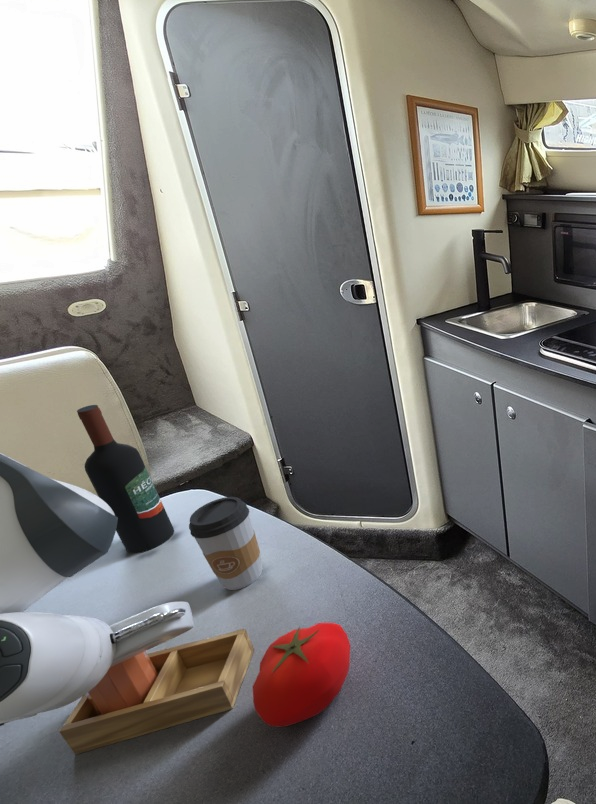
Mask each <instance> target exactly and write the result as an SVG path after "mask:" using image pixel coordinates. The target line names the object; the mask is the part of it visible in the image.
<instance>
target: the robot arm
mask: <svg viewBox="0 0 596 804" xmlns="http://www.w3.org/2000/svg"><path fill="white" fill-rule="evenodd" d="M117 520H118V517H116V516H115V514H114V512H113V510H112V509H111V508H110V506H109V505H108V504H107V503H106V502H104V501H103V500H102V499H101V498H99V497H98V495H97V494H95V493H93V492H91V491H90V490H88V489H85V488H82V487H80V486H77V485H75V484H72V483H68V482H65V481H61V480H57V479H54V478H51V477H49V476H46V475H44V474H42V473H40V472H38V471H36V470H34V469H32V468H30V467H29V466H27V465H25V464H23V463H22V462H19V461H17V460H16V459H13V458H12V457H9V456H8V455H5V454H4V453H2V452H0V727H2V726H4V725H5V724H8V723H11V722H15V721H18V720H25V719H27V718H32V717H35V716H37V715H38V714H40V713H46V712H51V711H54V710H58V709H60V708H64V707H66V706H68V705H70V704H72V703H74V702H76V701H79V699H81V698H82V697H83V696H84V695H85V694H86V693H88V692H89V691H90V690H91V689H93V688H94V687H95V686H96V685H97V684H98V683H99V682H100V681H101V679H102V678H103V677H104V676H105V674H106V673H107V671H108V670H109V668H110V667H112V666H114V665H116V664H118V663H121V662H123V661H125V660H127V659H129V658H131V657H134V656H136V655H138V654H140V653H142V652H144V651H146V652H147V651H149V650H151V649H153V648H155V647H157V646H160V645H161V644H164V643H166V642H168V641H170V640H173V639H175V638H177V637H179V636H181V635H183V634H185V633H187V632H189V631H191V630H192V629H193V628H194V626H195V620H194V616H193V612H192V609H191V606H190V604H189V602H188V601H170V602H166V603H163V604H159V605H156V606H153V607H151V608H148V609H146V610H144V611H141V612H139V613H136V614H133V615H132V616H130V617H127V618H125V619H123V620H120V621H117V622H116V623H113V624H111V625H108V624H107V623H106V622H104V621H103V620H100V619H98V618H95V617H91V616H82V615H72V614H59V613H55V612H54V613H53V612H45V611H43V612H42V611H26V610H27V609H29V608H30V607H31V606H33V605H34V604H35V603H37V602H38V601H39V600H41V599H42V598H44V597H45V596H46V595H47V594H48V593H50V592H51V591H52V590H54V589H55V588H57V587H58V586H59V585H61V584H62V583H63V582H64V581H66V580H67V579H69V578H72V577H73V576H75V575H76V574H79V573H80V572H81V571H82V570H84V569H85V568H87V567H88V566H90V565H91V564H93V563H95V562H96V561H97V560H98V559H100V558H102V557H104V555H106V554H108V553H109V550H110V549H111V546H112V544H113V541H114V538H115V535H116V533H117V532H116V527H117Z"/></svg>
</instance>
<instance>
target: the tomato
mask: <svg viewBox="0 0 596 804" xmlns="http://www.w3.org/2000/svg"><path fill="white" fill-rule="evenodd" d="M350 657H351V642H350V640H349V637H348V634H347V632H345V630H344V628H343V627H342V625H341V624H339V623H336V622H318V623H316V624H314V625H312V626H309V627H305V628H301V627H300V625H299V626H298V628H296V629H295V628H294V629H293V630H290V631H289V632H286V633H285V634H282V635H281V636H279V637H278V638H277V639H275V640H274V641H273V642H272V643H271V644H270V645H268V647H267V649H266V650H265V653H264V654H263V656H262V658H261V660H260V663H259V670H258V673H257V676H256V678H255V680H254V682H253V685H252V700H253V701H252V702H253V707H254V710H255V712H256V713H257V715H258V716H259V717H260V719H261V720H262V721H263V722H264V723H265V724H266V725H268V726H270V727H277V728H278V727H280V728H283V727H287V726H291V725H292V726H293V725H295V724H297V723H298V724H299V723H300V722H303V721H307V720H308V719H311V718H313V717H316V716H317V715H319V714H320V713H321V712H323V711H324V710H326V709H327V708H328V707H329V706H330V705H331V703H332V702H333V701H334V699H335V698H336V697H337V696H338V695H339V694H340V692H341V690H342V687H343V685H344V683H345V681H346V679H347V677H348V674H349V668H350V661H351V660H350V659H351V658H350Z"/></svg>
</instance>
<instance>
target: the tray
mask: <svg viewBox="0 0 596 804" xmlns="http://www.w3.org/2000/svg"><path fill="white" fill-rule="evenodd" d="M254 653H255V648H254V645H253V643H252V641H251V639H250V635H249V633H248V631H247V629H246V628H242V629H238V630H235V631H231V632H226V633H223V634H218V635H215V636H212V637H208V638H203V639H200V640H196V641H192V642H188V643H184V644H180V645H176V646H173V647H169V648H164V649H160V650H156V651H153V652H148V653H147V655H148V657H149V659H150V660H151V662H152V664H153V666H154V668H155V669H156V671H157V673H158V677H157V678H156V680H155V682H154V684H153V686H152V688H151V689H150V691H149V693H148V695H147V697H146V699H145V700H144V702H143V704H139V705H135V706H132V707H128V708H125V709H121V710H118V711H114V712H110V713H107V714H103V715H100V716H99V714H98V713H97V711H96V710H95V708H94V706H93V705H92V703H91V702H90V700H89V699H88V697H87V696H86V694H85V695H84V696H82V697H81V698H80V700H78V703H77V704H76V706H75V707H74V709H73V710H72V712H71V713H70V715H69V716H68V717H67V719H66V720H65V722H64V723H63V725H62V726H61V728H60V729H59V731H58V732H59V734H60V735H61V737H62V739H63V740H64V741H65V743H66V744H67V746H68V747H69V748H70V750H71V751H72V752H73V754H74V755H79V754H83V753H85V752H89V751H93V750H96V749H100V748H102V747H106V746H109V745H113V744H116V743H121V742H123V741H126V740H127V741H128V740H131V739H134V738H137V737H141V736H144V735H147V734H151V733H154V732H157V731H161V730H164V729H167V728H171V727H175V726H178V725H181V724H185V723H188V722H192V721H195V720H198V719H202V718H206V717H208V716H212V715H216V714H219V713H223V712H226V711H229V710H232V709H234V706H235V703H236V701H237V698H238V695H239V692H240V690H241V687H242V684H243V682H244V680H245V676H246V674H247V672H248V668H249V666H250V663H251V661H252V658H253V656H254Z"/></svg>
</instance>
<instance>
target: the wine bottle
mask: <svg viewBox="0 0 596 804" xmlns="http://www.w3.org/2000/svg"><path fill="white" fill-rule="evenodd" d="M76 413H77V416H78V418H79V420H80V421H81V423H82V425H83V427H84V429H85V431H86V433H87V435H88V437H89V439H90V441H91V443H92V445H93V451H92V452H91V453H90V455H89V456H88V457H87V458H86V460H85V463H84V471H85V472H86V475H87V477H88V479H89V481H90V483H91V485H92V486H93V489H94V490H95V493H96V496H98V497H99V498H101V499H102V500H103V501H104V502H106V503H107V504H108V505H109V506H110V508H111V509H112V510H113V512H114V514H115V516H116V517H118V520H117V527H116V532H115V533H116V534H117V536H118V537H119V540H120V541H121V544H122V545H123V548H124V549H125V551H126V552H127V553H129V554H140V553H144V552H147V551H150V550H152V549H155V548H157V547H159V546H161V545H163V544H164V543H166V542H167V541H168V540H170V539H171V537H172V536H173V535H174V533H175V528H174V526H173V524H172V522H171V520H170V518H169V515H168V513H167V511H166V509H165V507H164V504H163V502H162V500H161V497H160V496H159V493H158V491H157V489H156V487H155V485H154V482H153V480H152V478H151V476H150V474H149V471H148V469H147V466H146V465H145V462H144V461H143V458H142V455H141V454H140V451H139V450H138V449H137V448H136V447H134V446H132V445H130V444H127V443H120V442H117V441H116V440H115V439H114V436H113V435H112V433H111V431H110V428H109V427H108V424H107V422H106V420H105V418H104V416H103V412H102V410H101V408H100V407H99V405H98V404H91V405H86V406H83V407H80V408H78V409H77V410H76Z"/></svg>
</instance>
